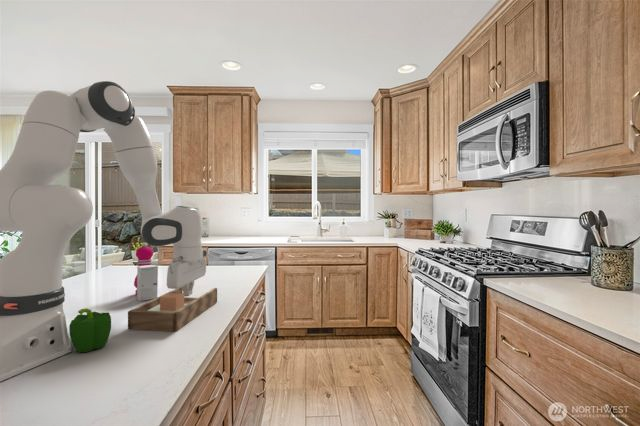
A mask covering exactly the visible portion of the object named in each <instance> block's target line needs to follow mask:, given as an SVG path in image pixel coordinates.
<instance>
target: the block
mask: <svg viewBox="0 0 640 426" xmlns="http://www.w3.org/2000/svg"><path fill="white" fill-rule="evenodd" d="M167 293H168V292H167ZM165 294H166V293H165ZM162 295H163V296H162ZM162 295H160V296H161V297H160V296H159V297H160V310H161V311H177V310H179V309H180V308H182V307H183V306H184V293H183V292H182V293H168V294H166V295H164V294H162Z"/></svg>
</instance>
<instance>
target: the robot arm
mask: <svg viewBox="0 0 640 426" xmlns="http://www.w3.org/2000/svg"><path fill="white" fill-rule="evenodd" d="M135 110H136V109H135V108H134V104H133V101H132V99H131V97H130V96H129V94H128V93H127V91H126V90H125V88H123V87H122V86H121V85H119V84H118V83H117V82H113V81H107V80H106V81H104V80H103V81H97V82H95V83H93V84H92V85H87V86H85V87H83V88H82V87H81V88H80V89H78V90H76V91H75V92H73V93H71V94H70V95H67V94H66V93H63V92H61V91H57V90H56V91H55V90H43V91H41V92H39V93H37V94H36V95H35V96H34V98H33V99H32V101H31V103H30V104H29V106H28V108H27V110H26V112H25V115H24V117H23V120H22V123H21V127H20V129H19V134H18V136H17V138H16V139H17V140H16V142H15V145H14V148H13V151H12V153H11V155H10V157H9V158H8V160H7V162H6V163H5V164H4V165H3V166H2V167H1V169H0V232H21V238H20V241H19V243H18V244H17V246H16V247H15V248H14V249H12V250H11V251H10V252H8V253H6V254H5V255H3V256H2V257H1V258H0V382H3V381H5V380H7V379H9V378H12V377H14V376H16V375H19V374H22V373H24V372H26V371H28V370H31V369H33V368H36V367H39V366H40V365H43V364H45V363H47V362H49V361H52V360H55V359H57V358H60V357H62V356H64V355H66V354H69V353H70V352H72V351H73V348H72V347H73V346H72V345H71V344H72V341H71V338H70V335H69V333H68V327H67V320H66V314H65V311H64V305H63V303H64V302H65V298H66V297H65V296H66V293H65V287H64V286H63V267H64V266H63V264H64V255H65V253H66V249H67V247H68V245H69V243H70V241H71V239H72V238H73V237H74V236H75V234H76V233H78V232H79V230H81V229H82V228H84V227H85V226H86V225H87V224H88V223H89V221H91V218H92V216H93V213H94V210H93V209H94V206H93V205H94V204H93V201H92V200H91V198H90V196H89V195H88V193H86V192H85V191H84V190H82V189H81V188H76V187H72V186H66V185H62V184H51V183H53V181H54V180H56V179H57V178H59V177H60V176H63V175H64V174H66V173H68V172H69V171H70V170H71V169H72V167H73V164H74V160H75V155H76V151H77V146H78V143H79V139H80V133H91V132H92V133H93V132H95V131H97V130H101V129H103V131H104V132H105V134H107V136H108V137H109V139H110V141H111V145H112V149H113V153H114V156H115V159H116V161H117V164H118V166H119V169H120V171H121V173H122V174H123V176H124V177H125V179H126V181H128V183H129V185H130V186H131V188H132V189H133V192H134V195H135V196H136V200H137V204H138V208H139V211H140V215H141V221H140V225H139V234H140V236H141V238H142V239H143V240H144V241H145V243H147V245H150V246H152V247H156V248H160V247H164V246H168V245H171V244H172V245H173V246H172V249H173V251H172V252H173V254H172V255H173V256H172V261H171V262H170V264H169V266H168V267H167V272H166V286H167V287H166V288H168V289H169V290H171V289H172V290H174V289H178V288H180V287H181V288H182V293H184V297H189V296H191V295H192V294H193V288H194V285H195V281H196V280H198V279H200V278H202V277H204V276H206V273H207V256H208V250H207V249H205V248H203V244H202V241H201V238H202V232H203V231H202V228H203V227H202V225H203V224H202V217H201V213H200V211H199V210H198V209H197V208H195V207H190V206H185V205H176V206H175V207H174V208H172V209H171V210H169V211H167V212H164V213H163V211H162V208H161V205H160V201H159V197H158V193H157V189H156V179H157V174H158V158H157V153H156V150H155V146H154V142H153V139H152V136H151V135H150V132H149V130H148V128H147V125H146V124H145V122H144V120H143V119H142V118H141V117H140V116H138V115H136V111H135Z"/></svg>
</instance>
